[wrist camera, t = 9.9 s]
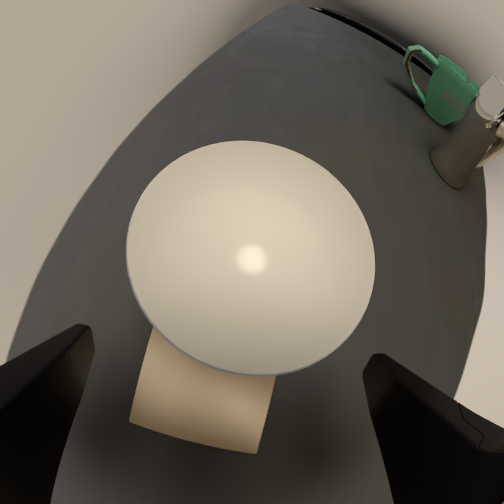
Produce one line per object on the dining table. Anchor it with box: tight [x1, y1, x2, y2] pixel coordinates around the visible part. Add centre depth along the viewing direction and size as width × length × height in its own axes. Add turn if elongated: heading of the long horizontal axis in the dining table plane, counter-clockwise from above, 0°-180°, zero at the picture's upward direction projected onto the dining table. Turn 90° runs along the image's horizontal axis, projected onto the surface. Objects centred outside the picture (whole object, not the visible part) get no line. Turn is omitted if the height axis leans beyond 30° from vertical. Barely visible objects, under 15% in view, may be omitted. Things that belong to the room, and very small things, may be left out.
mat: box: [129, 327, 276, 454], centre depth 15 cm, size 12×8×1 cm, turn 167°
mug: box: [403, 45, 480, 126], centre depth 29 cm, size 15×10×10 cm
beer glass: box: [430, 74, 504, 189], centre depth 20 cm, size 7×7×15 cm
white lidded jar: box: [126, 141, 375, 377], centre depth 11 cm, size 6×6×10 cm
